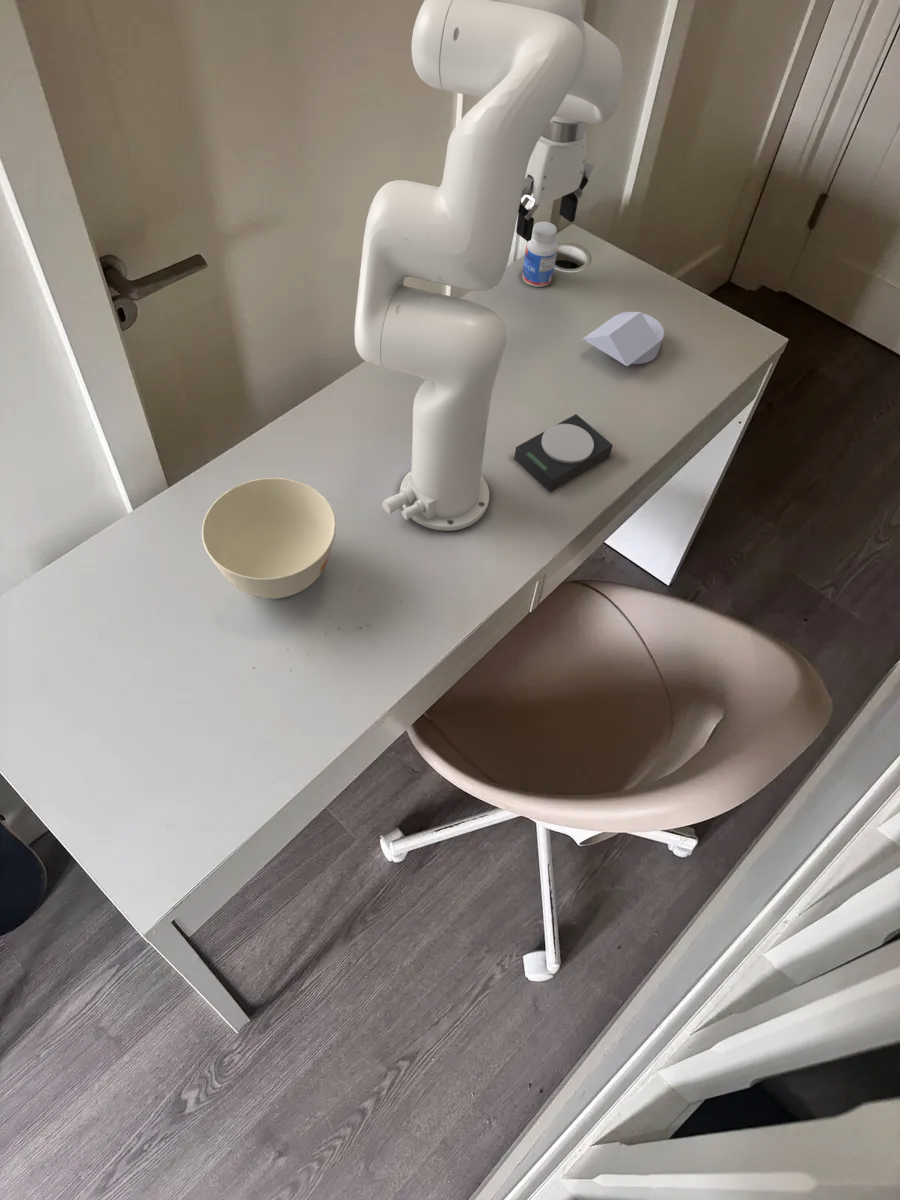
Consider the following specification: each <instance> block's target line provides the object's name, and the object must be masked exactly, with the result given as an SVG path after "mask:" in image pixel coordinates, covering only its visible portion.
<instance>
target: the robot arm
mask: <svg viewBox="0 0 900 1200" xmlns="http://www.w3.org/2000/svg"><path fill="white" fill-rule="evenodd" d="M410 51H411V60H412V64H413V67H414V70H415V72H416V75H417V76H418V77H419V79H420V80H421V81H422V82H424V83H425V84H426V85H427V86H429V87H432V88H434V89H437V90H441V91H445V92H446V91H447V92H451V93H456V94H460V95H461V94H462V95H466V96H470V97H475V98H480V100H479V101H477V103H476V104H474V105H473V106H472V107H471V108H470V109H469V110H468V111H467V112H466V114H464V115H463V117H462V118H461V119H460V120H459V121H458V123H457V124H456V125H455V127H454V128H453V130H452V132H451V133H450V136H449V139H448V142H447V146H446V154H445V161H444V167H443V174H442V180H441V182H440V185H439V186H435V185H431V184H426V183H421V182H417V181H412V180H407V179H395V180H391V181H389V182H386V183H385V184H384V185H382V186H381V187H380V189H378V191H377V192H376V194H375V195H374V197H373V200H372V202H371V204H370V207H369V210H368V213H367V217H366V221H365V227H364V234H363V240H362V241H363V242H362V251H361V261H360V271H359V280H358V288H357V299H356V308H355V319H354V345H355V350H356V353H358V356H359V357H360V358H361V359H362V360H363V361H365V362H366V363H368V364H371V365H374V366H376V367H380V368H383V369H387V370H391V371H395V372H399V373H402V374H407V375H410V376H415V377H417V378H421V379H425V380H424V382H422V384H421V385H420V387H419V388H418V390H417V392H416V394H415V395H414V399H413V405H412V435H411V436H412V439H411V441H412V443H411V470H409V471H408V472H407V473H406V474H405V476H404V478H403V479H402V481H401V484H400V486H399V487H400V489H399V492H398V493H397V494H395V495H394V494H393V495H391V496H390V497H387V498H386V499H384V500H382V502H381V504H382V508H383V510H384V511H385V513H387V515H388V514H391V513H393V512H395V511H397V510H399V509H401V507H402V509H401V511H400V513H401V516H402V518H403V519H404V520H405V521H407V520H409V519H411V520H412V521H414V522H415V523H417V524H419V525H421V526H423V527H425V528H427V529H431V530H436V531H443V532H446V531H457V530H462V529H465V528H468V527H470V526H472V525H473V524H476V523H477V522H478V521H479V520H480V519H481V518H482V517H483V516H484V515H485V513H486V511H487V509H488V507H489V502H490V489H489V485H488V482H487V481H486V479H485V478H484V476H483V475H482V469H483V460H484V453H485V447H486V446H485V444H486V436H487V429H488V420H489V413H490V405H491V400H492V399H491V398H492V395H493V394H492V393H493V388H494V385H495V381H496V378H497V374H498V371H499V368H500V365H501V362H502V360H503V359H502V358H503V356H504V351H505V347H506V340H507V339H506V338H507V332H506V325H505V323H504V321H503V320H502V318H501V317H500V316H499V314H498V313H497V312H495V311H494V310H493V309H491V308H489V307H487V306H485V305H482V304H481V303H478V302H474V301H471V300H468V299H464V298H460V297H457V296H456V297H455V296H451V295H447V294H444V293H438V292H433V291H428V290H426V289H425V290H424V289H421V288H415V287H412V286H408V285H405V284H404V281H405V278H413V279H418V280H422V281H427V282H431V283H435V284H440V285H444V286H448V287H452V288H457V289H461V290H467V291H474V292H475V291H477V292H485V291H489V290H492V289H494V288H495V287H497V286H498V285H499V283H500V282H501V281H502V279H503V277H504V275H505V273H506V271H507V266H508V262H509V259H510V254H511V251H512V245H513V240H514V236H515V233H516V235H518V236H520V237H521V238H522V239H524V240H525V241H526V242H527V241H530V240H531V238H532V232H533V227H534V225H535V218H534V217H533V216H534V214H535V213H536V211H537V210H538V208H539V206H542V205H546V204H549V203H550V202H553V201H555V200H557V199H560V198H561V200H560V206H559V212H558V214H559V215H560V216H561V217H563V218H564V219H565V220H567V221H568V222H570V223H573V222H575V219H576V214H577V209H578V203H579V199H581V197H582V196H583V190H584V189H585V187H586V186H587V185H588V183H589V178H590V177H591V174H592V172H593V170H594V168H595V165H594V164H593V163H591V162H590V161H588V160H586V154H587V130H586V128H587V124H591V125H604V124H606V123H607V122H608V121H609V120H610V119H611V118H612V117H613V116H614V114H615V112H616V111H617V108H618V106H619V102H620V99H621V96H622V89H623V74H624V73H623V57H622V54H621V51H620V50H619V48H618V47H617V45H616V44H615V43H614V42H613V41H612V40H611V39H609V38H608V37H607V36H605V35H604V34H602V33H601V32H600V31H598V30H597V29H596V28H594V27H593V26H592V25H591V24H589V22H587V21H585V20H584V14H583V5H582V0H423V2H422V4H421V6H420V9H419V10H418V13H417V16H416V18H415V21H414V25H413V30H412V36H411V49H410ZM529 201H530V202H531V203H530V206H529V207H528V208H527V207H526V206H527V204H528V202H529Z"/></svg>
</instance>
